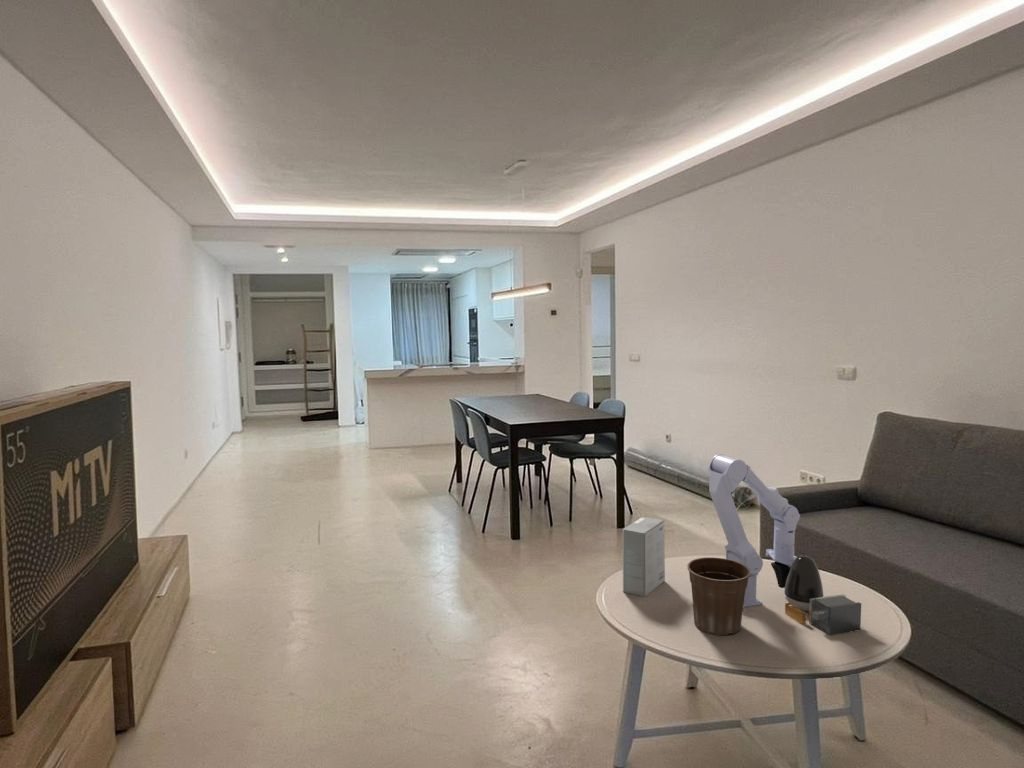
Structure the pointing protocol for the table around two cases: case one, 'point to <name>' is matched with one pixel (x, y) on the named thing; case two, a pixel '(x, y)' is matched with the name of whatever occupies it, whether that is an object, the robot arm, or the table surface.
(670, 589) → the table surface
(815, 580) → the dark grey egg shape
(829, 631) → the motor
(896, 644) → the table surface
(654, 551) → the hard drive box
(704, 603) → the plant pot
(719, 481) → the robot arm
